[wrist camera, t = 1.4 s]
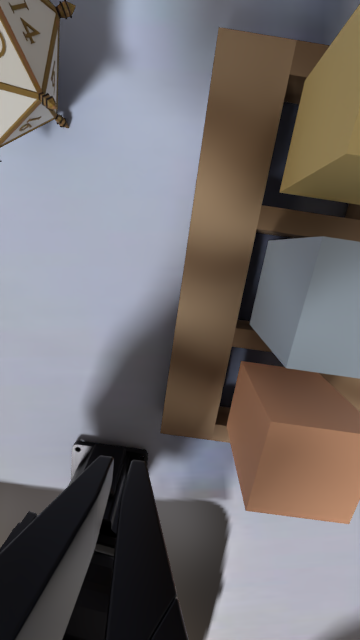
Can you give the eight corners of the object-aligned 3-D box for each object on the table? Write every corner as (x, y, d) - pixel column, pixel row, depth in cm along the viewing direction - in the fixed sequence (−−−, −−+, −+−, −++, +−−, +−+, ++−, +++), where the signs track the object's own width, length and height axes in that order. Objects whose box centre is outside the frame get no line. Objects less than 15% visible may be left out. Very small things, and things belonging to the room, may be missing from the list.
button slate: (328, 335, 16) (409, 385, 10) (249, 324, 16) (285, 368, 10) (355, 253, 15) (465, 257, 9) (268, 240, 15) (322, 236, 9)
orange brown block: (296, 435, 18) (348, 524, 12) (226, 426, 18) (245, 510, 12) (317, 371, 17) (386, 437, 11) (241, 360, 17) (270, 421, 11)
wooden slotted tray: (326, 435, 22) (343, 457, 19) (163, 413, 22) (160, 433, 19) (447, 99, 15) (494, 72, 13) (213, 61, 15) (219, 27, 13)
